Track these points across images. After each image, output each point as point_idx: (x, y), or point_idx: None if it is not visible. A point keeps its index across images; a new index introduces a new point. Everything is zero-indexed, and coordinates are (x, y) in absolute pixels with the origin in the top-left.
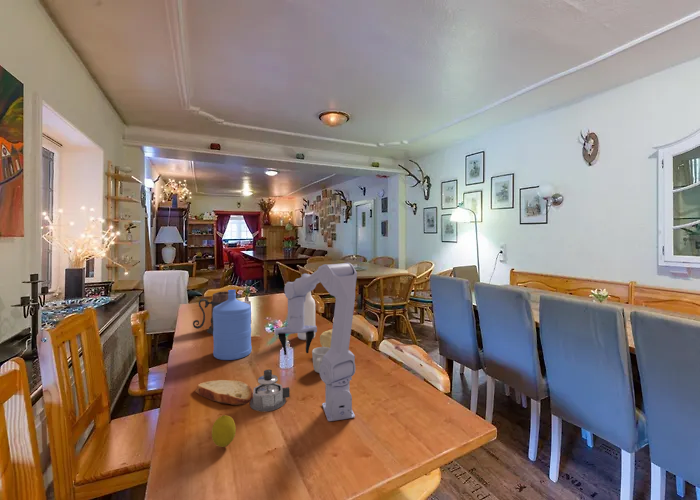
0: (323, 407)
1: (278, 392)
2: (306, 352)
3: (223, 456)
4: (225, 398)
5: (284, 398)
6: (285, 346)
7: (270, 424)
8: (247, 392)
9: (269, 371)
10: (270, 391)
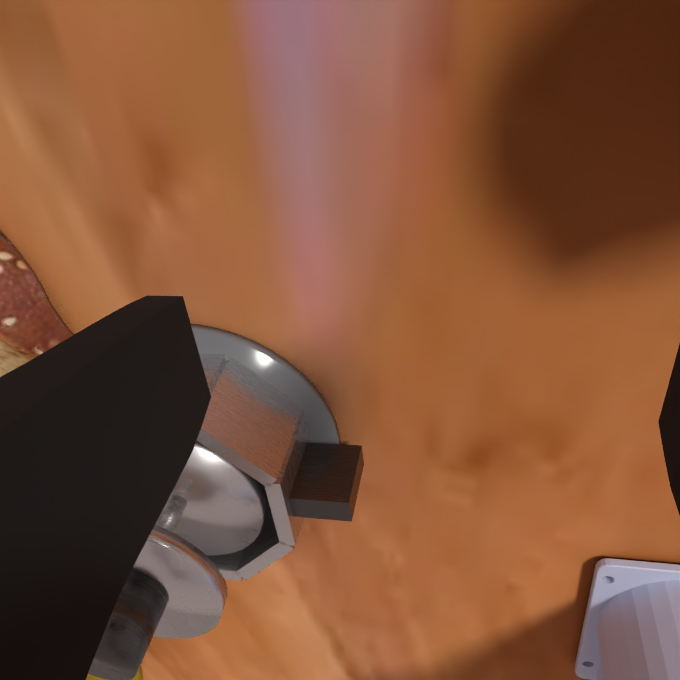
0: (591, 597)
1: (267, 561)
2: (662, 443)
3: (142, 665)
4: None
5: (326, 442)
6: (112, 591)
7: (273, 596)
8: (18, 360)
9: (117, 669)
10: (203, 521)
